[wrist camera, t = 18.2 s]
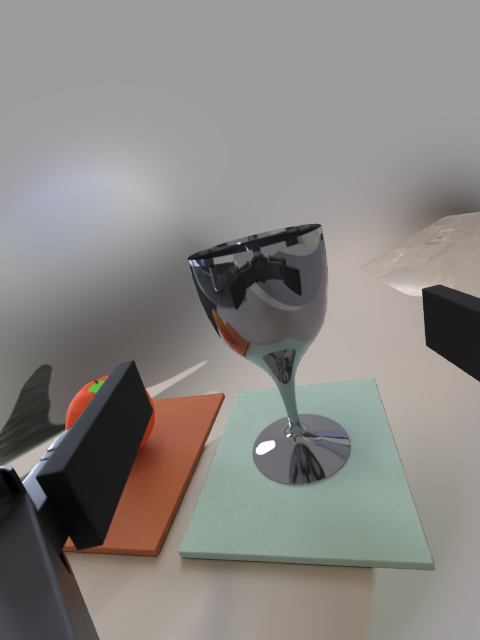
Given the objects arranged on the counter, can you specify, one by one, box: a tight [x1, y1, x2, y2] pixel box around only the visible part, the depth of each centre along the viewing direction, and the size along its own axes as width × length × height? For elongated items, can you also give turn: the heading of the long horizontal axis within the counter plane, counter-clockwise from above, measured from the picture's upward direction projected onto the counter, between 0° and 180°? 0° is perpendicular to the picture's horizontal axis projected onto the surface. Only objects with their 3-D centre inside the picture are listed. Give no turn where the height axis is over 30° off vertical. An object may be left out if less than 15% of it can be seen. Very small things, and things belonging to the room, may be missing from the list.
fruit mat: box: [62, 393, 225, 556], centre depth 28 cm, size 13×16×1 cm
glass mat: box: [179, 378, 434, 570], centre depth 24 cm, size 13×16×1 cm
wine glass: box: [188, 224, 351, 485], centre depth 21 cm, size 8×8×15 cm
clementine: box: [65, 376, 155, 449], centre depth 27 cm, size 8×7×7 cm
